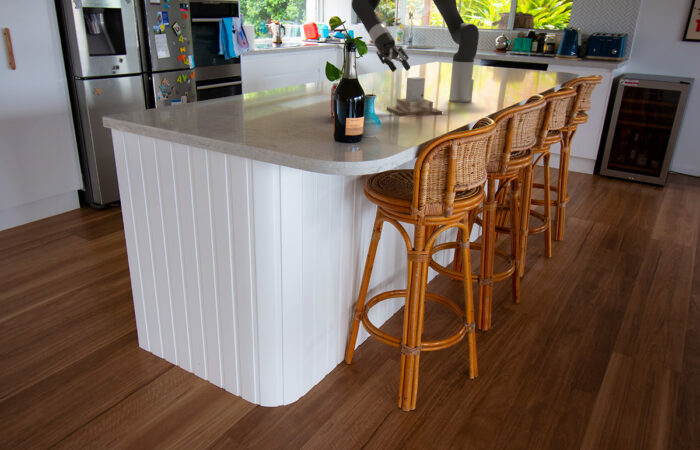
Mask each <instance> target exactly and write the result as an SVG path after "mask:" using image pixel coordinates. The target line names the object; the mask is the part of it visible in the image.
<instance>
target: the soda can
mask: <svg viewBox="0 0 700 450" xmlns="http://www.w3.org/2000/svg"><path fill="white" fill-rule="evenodd" d="M338 83H339V82H337V83H333V84H332V87H331V89H330V91H331V92H330V111H331V112H330V113H331V116H332V117H334V116H333V96H334V92H335V89H336V87H337V85H338Z"/></svg>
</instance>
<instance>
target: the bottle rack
mask: <svg viewBox="0 0 700 450" xmlns="http://www.w3.org/2000/svg"><path fill="white" fill-rule="evenodd" d="M395 105H396V106H386V111H388V110H389V111H388V112H390V111H391V113H392V112H393V113H392V114H394V113H395V114H394V115H396V114H397V115H396V116H399V117H405V115H413V116H436V115H437V116H439V115H441V116H442V115H443V111H442V110H439V109H437V108H434V107H433V105H434V101H431V100H429V99H427V98H426V99H425V98H423V102H408V101H406V97H404V98H403V97H401V98H400V97H399V98H396V104H395Z"/></svg>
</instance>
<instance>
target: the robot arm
mask: <svg viewBox="0 0 700 450" xmlns="http://www.w3.org/2000/svg"><path fill="white" fill-rule="evenodd" d="M380 2H381V0H351V7H352V10H353V12H354V13H355V15H356V16H357V17H358V18H359V20H360V21H361V23H362V25H363V27H364V29H365V31H366V32H367V34H368V35H369V37H370V39H371V41H372V43H373V45H374V46H375V48H376V49H377V51H376V55H377V56H378V59H379V60H380V63H381V64H382V65H384V64H385V65H386V66H388V68H389V69H390V71H391V72H392V73H394V72H395V71H396V70H397V66H396V65H395V63H394V61H392V60H395V61H397V62H399V63H401V65H402V67H404V70H405V71H409V70H411V65H410V63H409V62H408V60H409V55H408V54H407V53H406V51H405V50H404V48H403V47H401V46H400V47H399V48H398V47H397V46H396V41H395V39H394V37H393V36H392V35H391V33H390V32H389V29H388V28H387V26H385V24H384V23H383V21H382V20H381V19H380V17H379V16H378V14H377V13H376V12H375V10H376V8H377V7H378V5H379V3H380ZM432 2H433V3H434V5H435V7H436V8H437V11H438V12H439V14H440V15H441V16H440V17H442V19H443V21H444V22H445V24H446V27H447V29H448V32H449V34H450V37H451V38H452V39H451V40H452V41H453V42H454V43H455V44H457V45H458V49H457V52H455V53H454V54H453V55H452V66H451V76H450V77H451V78H450V88H449V89H450V90H449V99H448V100H449V101H451V102H457V103H458V102H459V103H465V102H466V103H467V102H472V101H473V90H474V81H475V80H474V79H473V75H474V74H473V73H474V62H475V61H474V60H475V58H476V55H477V52H478V47H479V46H478V45H479V37H480V32H479V28H478V26H477V25H476V24H474V23H468V22H465V21H464V19H463V18H462V16H461V14H460V13H459V10H458V7H457V0H432Z"/></svg>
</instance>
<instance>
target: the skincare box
mask: <svg viewBox="0 0 700 450" xmlns="http://www.w3.org/2000/svg"><path fill="white" fill-rule="evenodd" d="M425 80H426V79H425V77H420V76H419V77H418V76H417V77H414V76H413V77H407V78H406V90H405V91H406V92H405V98H406V101H408V102H423V99H425V98H424V97H425V96H424V95H425Z"/></svg>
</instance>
